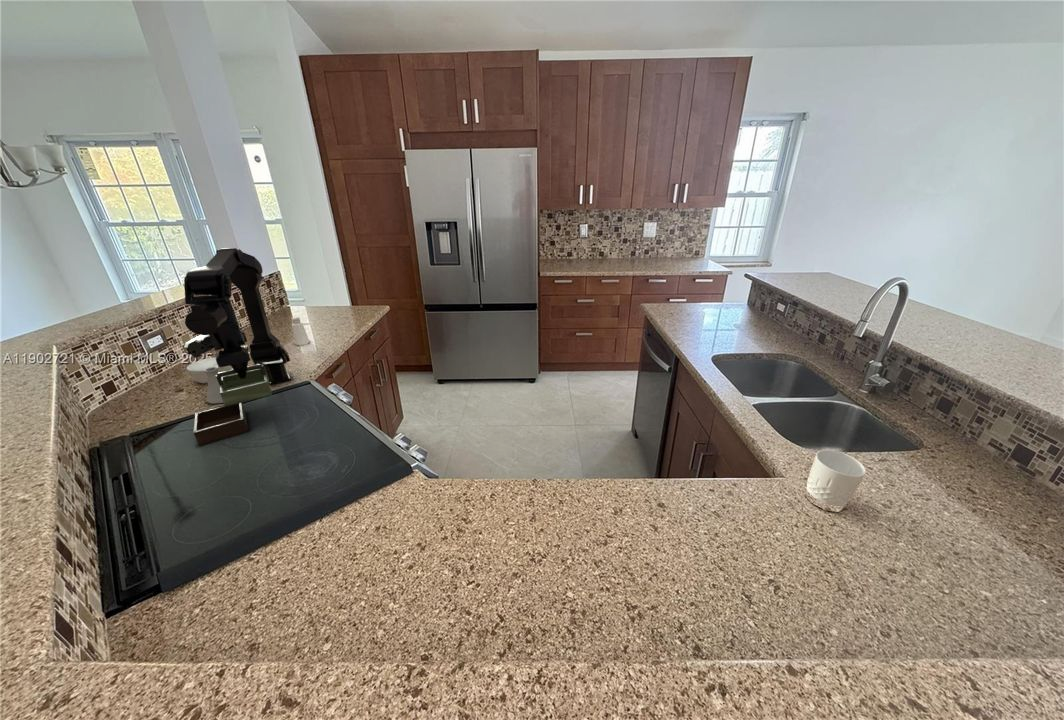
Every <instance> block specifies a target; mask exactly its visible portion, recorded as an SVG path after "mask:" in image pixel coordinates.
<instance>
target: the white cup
mask: <svg viewBox="0 0 1064 720" xmlns="http://www.w3.org/2000/svg"><path fill="white" fill-rule="evenodd" d="M866 474H867V469H866V467H865V465H864V464H863V463H861V461H859V460H858V459H856V458H854V457H853V456H850V455H849V454H846V453H844V452H841V451H838V450H832V449H819V450H818V451H816V453H815V456H814V459H813V461H812V465H811V468H810V471H809V474H808V478H807V480H806V485H807V487H806V486H805V488H806V489H807V491H808V492H809V493H810V495H812V496H813V497H814V498H816V499H817V500H819V501H821V502H823V503H825V504H829V505H833V506H844V505H846V504H847V505H848V503H849V502H850V501H851V500H852V498H853V496H854V494H855V493H856V491H857V490H858V487H859V486H860V484H861V482H862V481H863V479H864V477H865V476H866ZM847 505H846V506H847Z"/></svg>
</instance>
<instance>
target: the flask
mask: <svg viewBox="0 0 1064 720" xmlns="http://www.w3.org/2000/svg"><path fill="white" fill-rule="evenodd" d="M218 369H219V368H218V367H210V368H207V369H205V370H204V372H205V373H206V374H207V377H208V383H207V392H206V400H205V402H206V403H209V404H212V405H213V404H224V402H223V400H222V397H221V395H220V385H219V383H218V380H217V378H216V375H217V373H219V372H218Z"/></svg>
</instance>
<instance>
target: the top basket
mask: <svg viewBox="0 0 1064 720" xmlns="http://www.w3.org/2000/svg"><path fill="white" fill-rule="evenodd" d="M216 378H217V380H218V383H219V385H220V395H221V397H222V400H223V405H224V406H225V407H227V406H231V405H234V404H238V403H242V404H243V403H245V402H249V401H253V400H257V399H261V398H265V397H266V398H267V397H269V396H273V392H272V388H271V385H270V384H269V379H268V376H267V373H266V370H265V367H264V365H261V364H257V365H255V364H254V365H253V364H252V365H248V366H247V372H246V378H243V379H241V378H240V377H239V376H238V375H237V373H236V372H235V371H234V369H231V370H229V371H225V372H220V373H217V375H216Z"/></svg>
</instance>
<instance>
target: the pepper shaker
mask: <svg viewBox="0 0 1064 720" xmlns="http://www.w3.org/2000/svg"><path fill="white" fill-rule="evenodd" d="M291 321H292V324H291V328H292V334H293V335H292V336H293V341H294V345H295V346H305V345H307V344H309V343H310V339H309V338H310V337H309V336H308V334H307V331H306V328H305V325H304V323H303V322H301V317H300V316H293V317H291Z"/></svg>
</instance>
